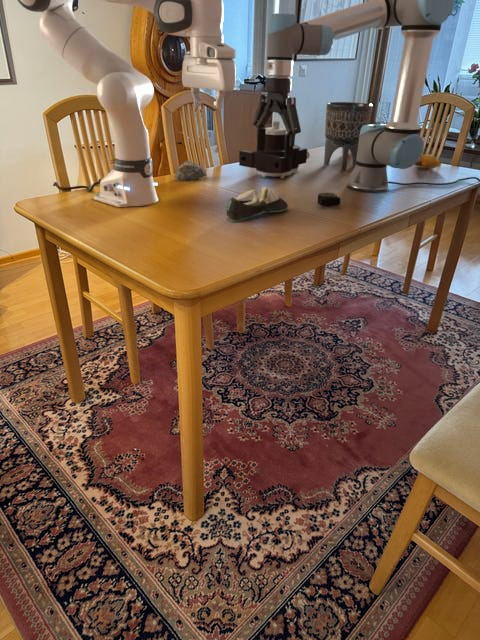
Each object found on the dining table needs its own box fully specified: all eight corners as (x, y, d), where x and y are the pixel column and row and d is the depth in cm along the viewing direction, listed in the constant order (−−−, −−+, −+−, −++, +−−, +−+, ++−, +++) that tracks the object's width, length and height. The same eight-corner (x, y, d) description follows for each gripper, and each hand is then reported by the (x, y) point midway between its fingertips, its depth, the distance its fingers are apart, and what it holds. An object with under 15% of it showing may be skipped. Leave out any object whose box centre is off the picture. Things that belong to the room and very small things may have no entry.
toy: (415, 162, 205) (409, 155, 218) (417, 175, 208) (411, 168, 221) (441, 154, 202) (433, 147, 215) (443, 168, 205) (435, 160, 218)
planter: (313, 167, 208) (319, 103, 195) (331, 160, 222) (338, 101, 209) (353, 173, 199) (362, 107, 185) (369, 166, 213) (379, 104, 199)
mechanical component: (240, 120, 182) (283, 115, 202) (239, 174, 192) (280, 164, 212) (283, 126, 170) (325, 120, 190) (280, 183, 180) (320, 171, 200)
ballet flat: (294, 211, 148) (296, 186, 144) (239, 225, 135) (239, 198, 131) (277, 205, 154) (278, 181, 150) (222, 219, 140) (221, 192, 136)
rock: (199, 174, 190) (198, 158, 187) (211, 178, 185) (211, 162, 181) (172, 179, 183) (171, 162, 179) (184, 183, 177) (183, 166, 174)
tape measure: (320, 209, 151) (321, 197, 149) (314, 203, 157) (315, 192, 155) (339, 208, 152) (341, 197, 150) (333, 202, 158) (334, 191, 156)
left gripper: (175, 49, 126) (177, 104, 133) (221, 50, 113) (221, 111, 120) (193, 50, 130) (195, 103, 137) (240, 51, 117) (239, 109, 124)
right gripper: (243, 75, 139) (241, 148, 149) (297, 79, 121) (291, 161, 132) (262, 75, 143) (259, 146, 153) (318, 79, 125) (310, 159, 136)
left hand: (207, 107), depth 128 cm, fingers open, 8 cm apart
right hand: (273, 153), depth 143 cm, fingers open, 13 cm apart
